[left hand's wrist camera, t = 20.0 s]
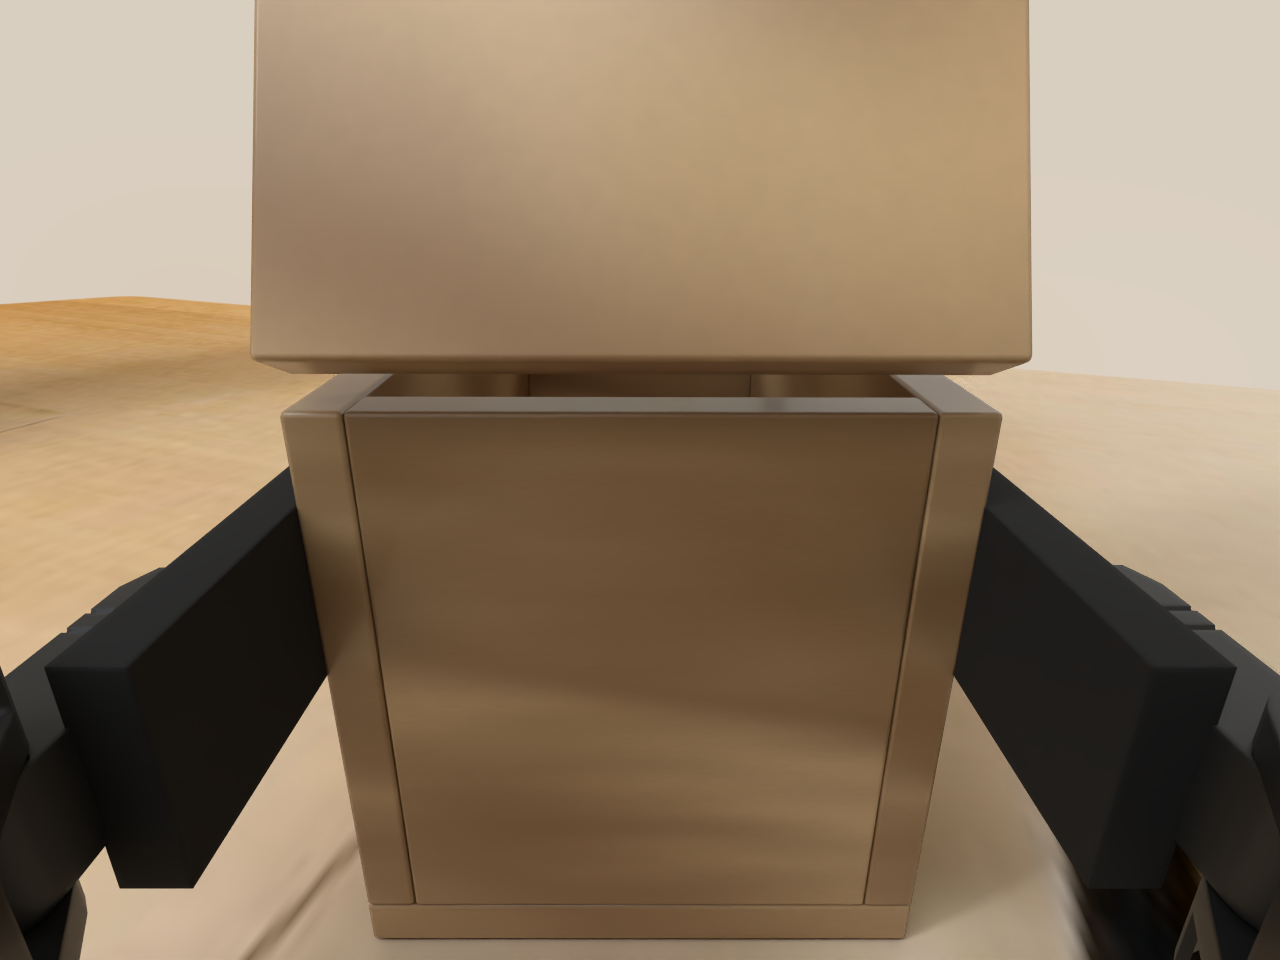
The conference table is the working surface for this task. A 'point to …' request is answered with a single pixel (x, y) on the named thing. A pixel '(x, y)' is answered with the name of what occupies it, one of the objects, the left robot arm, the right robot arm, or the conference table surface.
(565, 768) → the chest
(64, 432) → the conference table surface
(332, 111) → the lid
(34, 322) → the conference table surface
